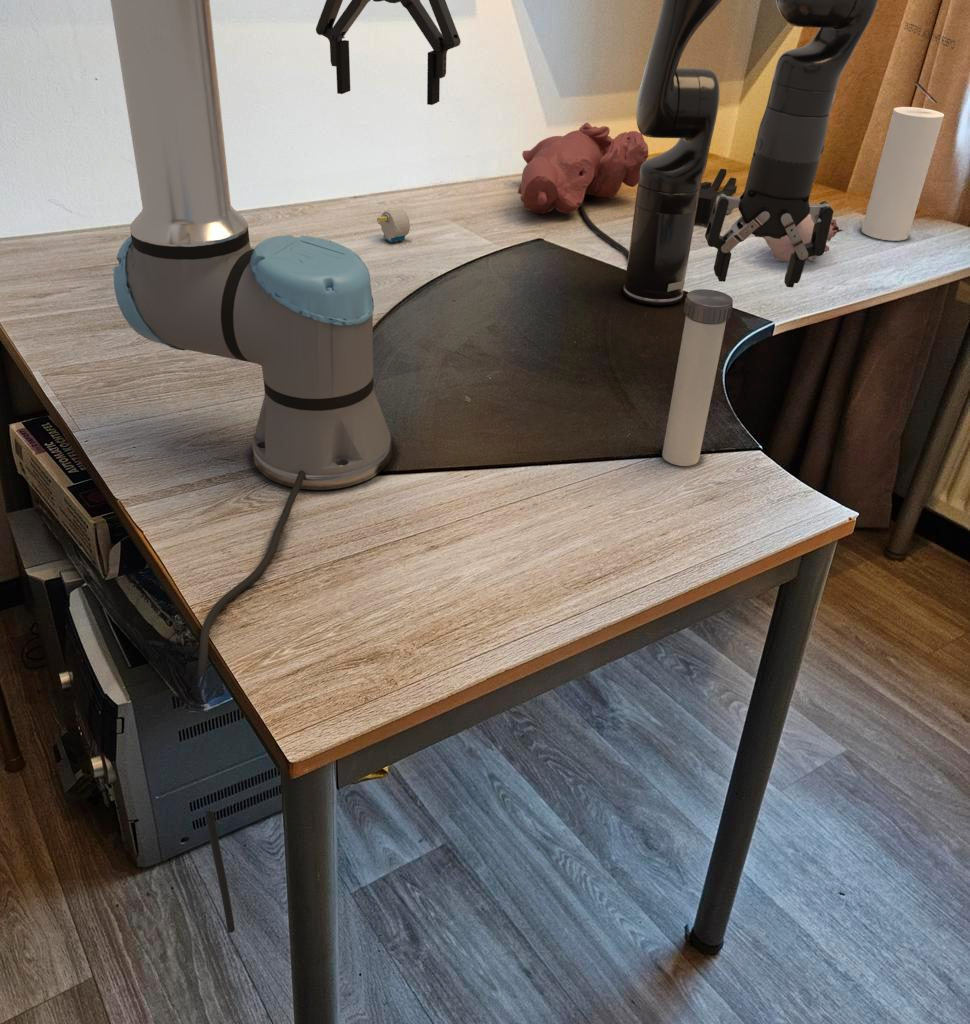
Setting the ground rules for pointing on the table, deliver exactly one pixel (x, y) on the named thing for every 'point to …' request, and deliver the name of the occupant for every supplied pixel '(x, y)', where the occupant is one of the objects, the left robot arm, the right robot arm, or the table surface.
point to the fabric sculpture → (580, 168)
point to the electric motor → (394, 225)
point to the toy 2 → (805, 228)
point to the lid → (708, 306)
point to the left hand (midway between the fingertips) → (388, 97)
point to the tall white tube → (902, 168)
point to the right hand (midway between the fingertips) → (754, 282)
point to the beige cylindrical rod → (692, 391)
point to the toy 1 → (712, 196)
